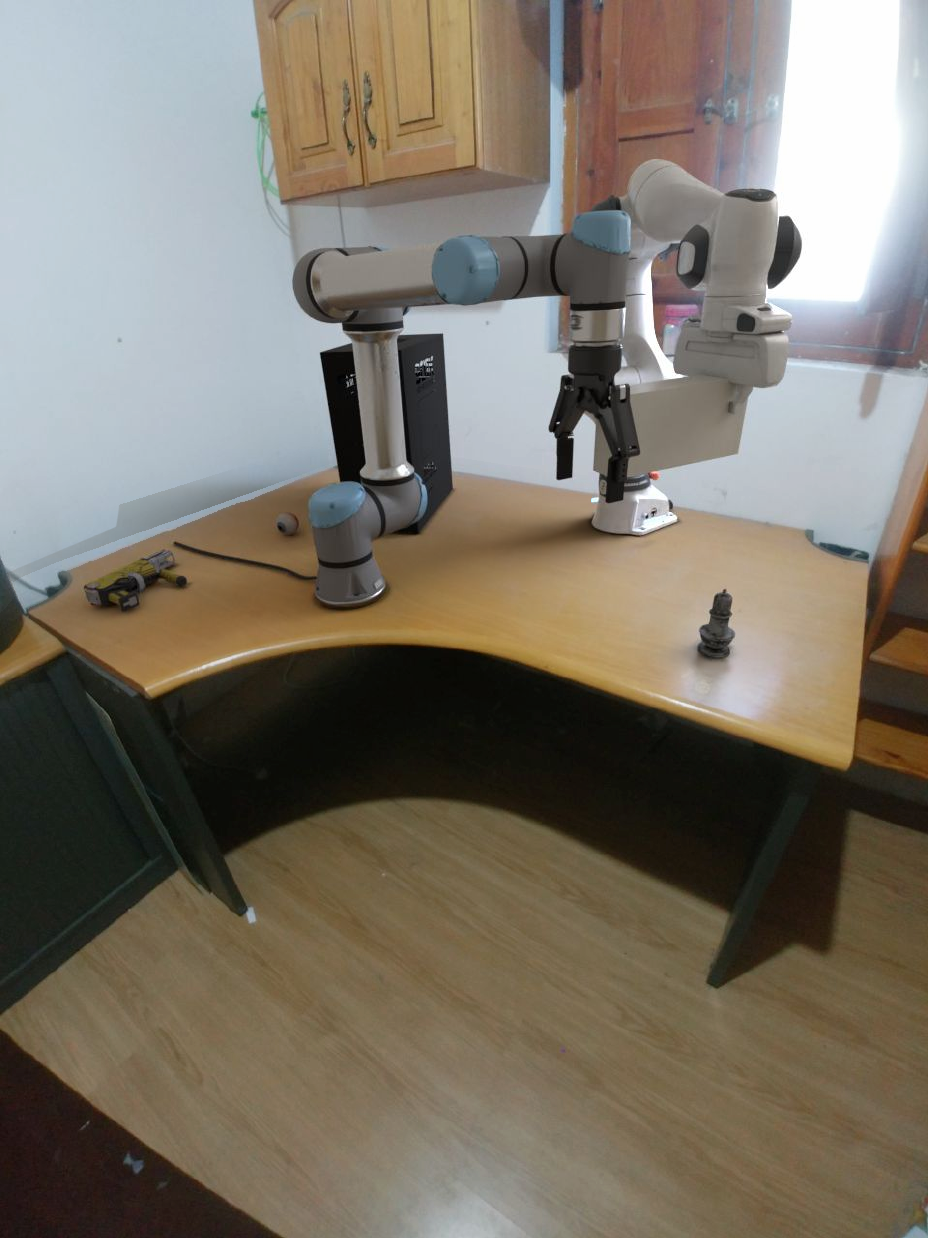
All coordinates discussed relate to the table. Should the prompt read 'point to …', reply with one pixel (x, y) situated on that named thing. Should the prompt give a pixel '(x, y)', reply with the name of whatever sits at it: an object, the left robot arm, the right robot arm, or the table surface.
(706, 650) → the dark grey chess piece
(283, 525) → the eyeball
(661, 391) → the box
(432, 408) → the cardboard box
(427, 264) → the left robot arm
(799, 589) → the table surface
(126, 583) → the toy gun
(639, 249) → the right robot arm
